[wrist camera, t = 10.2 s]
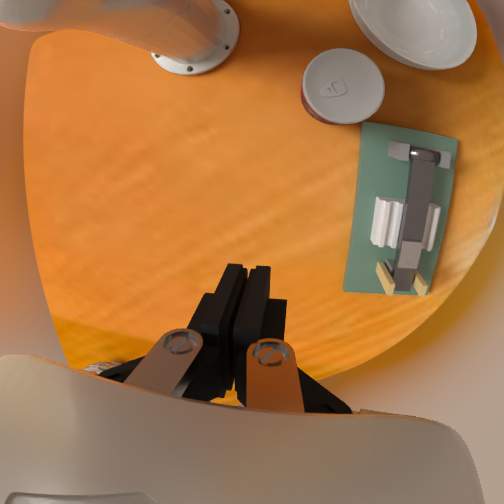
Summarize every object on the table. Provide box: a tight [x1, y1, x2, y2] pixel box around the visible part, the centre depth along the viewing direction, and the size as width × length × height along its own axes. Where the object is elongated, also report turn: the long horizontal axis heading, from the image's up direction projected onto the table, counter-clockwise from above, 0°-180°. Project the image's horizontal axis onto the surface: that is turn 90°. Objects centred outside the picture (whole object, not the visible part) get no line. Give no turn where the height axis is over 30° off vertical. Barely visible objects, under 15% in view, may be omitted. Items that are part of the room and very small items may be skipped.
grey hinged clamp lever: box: [391, 146, 440, 292], centre depth 33 cm, size 19×4×2 cm, turn 179°
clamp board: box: [343, 121, 458, 297], centre depth 34 cm, size 24×14×8 cm, turn 179°
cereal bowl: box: [349, 0, 477, 70], centre depth 23 cm, size 17×17×7 cm
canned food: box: [301, 48, 385, 124], centre depth 28 cm, size 8×8×11 cm
